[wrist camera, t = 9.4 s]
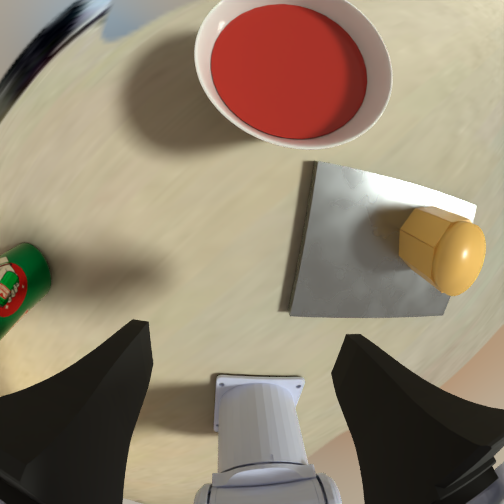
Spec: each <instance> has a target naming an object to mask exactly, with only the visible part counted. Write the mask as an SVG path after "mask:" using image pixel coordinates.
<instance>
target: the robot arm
mask: <svg viewBox="0 0 504 504" xmlns="http://www.w3.org/2000/svg"><path fill="white" fill-rule="evenodd" d="M152 367H153V358H152V350H151V341H150V331H149V322H147V321H140V320H134V319H132V320H131V321H130V322H129V323H127V324H126V325H125V326H124V327H122V328H121V329H120V330H119V331H117V332H116V333H115V334H114V335H112V336H111V337H110V338H109V339H107V340H106V341H105V342H104V343H102V344H101V345H100V346H98V347H97V348H96V349H94V350H93V351H92V352H90V353H89V354H87V355H86V356H84V357H83V358H82V359H80V360H79V361H77V362H76V363H74V364H73V365H71V366H70V367H68V368H66V369H65V370H63V371H61V372H60V373H58V374H56V375H54V376H52V377H50V378H48V379H46V380H44V381H42V382H40V383H37V384H35V385H33V386H31V387H28V388H26V389H23V390H21V391H18V392H15V393H12V394H9V395H5V396H2V397H0V504H122V500H123V488H124V478H125V470H126V463H127V457H128V451H129V446H130V441H131V437H132V434H133V431H134V428H135V424H136V421H137V419H138V416H139V413H140V410H141V407H142V404H143V401H144V398H145V395H146V392H147V389H148V386H149V382H150V377H151V372H152ZM331 374H332V379H333V384H334V388H335V392H336V396H337V399H338V401H339V404H340V407H341V409H342V412H343V414H344V417H345V420H346V422H347V425H348V427H349V430H350V433H351V435H352V438H353V441H354V444H355V447H356V451H357V456H358V460H359V465H360V470H361V477H362V483H363V490H364V500H365V504H504V462H503V463H502V464H501V465H500V466H498V467H497V468H496V469H495V470H494V469H493V467H492V466H493V465H494V464H495V463H496V460H495V458H494V455H495V454H496V453H497V452H498V451H499V450H500V449H501V448H502V447H503V446H504V410H503V409H497V408H491V407H487V406H483V405H479V404H476V403H473V402H470V401H467V400H464V399H462V398H459V397H457V396H455V395H452V394H450V393H448V392H446V391H444V390H442V389H440V388H438V387H436V386H435V385H433V384H431V383H429V382H427V381H426V380H424V379H422V378H421V377H419V376H418V375H416V374H415V373H413V372H412V371H410V370H409V369H407V368H406V367H405V366H403V365H402V364H400V363H399V362H398V361H396V360H395V359H394V358H392V357H391V356H390V355H388V354H387V353H386V352H384V351H383V350H382V349H380V348H379V347H378V346H376V345H375V344H374V343H372V342H371V341H370V340H368V339H367V338H365V337H364V336H362V335H361V334H346V336H345V339H344V342H343V344H342V347H341V350H340V352H339V355H338V357H337V360H336V363H335V365H334V368H333V370H332V372H331ZM221 383H223V384H221ZM304 384H305V380H304V378H303V377H253V376H233V375H218V376H217V378H216V393H215V412H214V431H215V432H218V473H213V474H212V483H207V484H204V485H203V486H202V488H200V489H199V490H198V491H197V493H196V495H195V499H194V504H342V500H341V497H340V493H339V490H338V488H337V485H336V483H335V482H334V480H333V479H332V478H331V477H329V476H327V475H326V474H325V473H317V474H316V473H315V469H314V465H313V464H308V461H307V456H306V452H305V448H304V443H303V439H302V434H301V430H300V426H299V422H298V417H297V413H296V409H295V408H296V405H297V402H298V400H299V397H300V395H301V392H302V389H303V386H304ZM297 385H298V386H297Z"/></svg>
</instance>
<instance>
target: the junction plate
mask: <svg viewBox="0 0 504 504" xmlns="http://www.w3.org/2000/svg"><path fill="white" fill-rule="evenodd" d="M430 206H435V207H438V208H441V209H444V210H446V211H449V212H452V213H454V214H457V215H460V216H462V217H465V218H468V219H470V220H471V222H472V224H473V220H474V216H475V211H476V205H474V204H471V203H469V202H466V201H463V200H461V199H458V198H455V197H452V196H449V195H446V194H443V193H440V192H437V191H434V190H431V189H428V188H425V187H422V186H419V185H415V184H412V183H408V182H405V181H401V180H398V179H394V178H390V177H387V176H383V175H379V174H375V173H371V172H367V171H363V170H358V169H354V168H349V167H345V166H340V165H335V164H330V163H325V162H320V161H314V168H313V175H312V182H311V188H310V195H309V201H308V207H307V213H306V219H305V225H304V231H303V236H302V242H301V248H300V253H299V258H298V264H297V269H296V274H295V279H294V284H293V289H292V294H291V299H290V303H289V308H288V312H289V315H290V316H298V317H331V318H390V317H421V316H440V315H443V314H444V311H445V309H446V306H447V304H448V301H449V299H450V296H449V295H447V294H445V293H441V292H440V291H439V290H437V289H436V288H435V287H434V286H432V285H431V284H430V283H429V282H427V281H426V280H425V279H423V278H422V277H421V276H419V275H418V274H417V273H415V272H414V271H413V270H411V268H410V267H409V266H408V265H407V264H406V263H405V262H404V261H403V260H402V259H401V258H400V257H399V235H400V228H401V227H402V225H403V224H404V223H405V221H406V220H407V219H408V217H409V216H410V214H411V213H412V212H413V210H414V209H415V208H420V207H430Z"/></svg>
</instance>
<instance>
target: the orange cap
mask: <svg viewBox="0 0 504 504" xmlns="http://www.w3.org/2000/svg"><path fill="white" fill-rule="evenodd" d="M485 252H486V242H485V237H484V234H483V232H482V230H481V229H480V227H478V226H477V225H475V224H472V222H471V220H470V219H468V218H465V217H462V216H460V215H457V214H454V213H452V212H449V211H446V210H444V209H441V208H438V207H435V206H430V207H420V208H415V209H414V210H413V212H412V213H411V214H410V216H409V217H408V219H407V220H406V221H405V223H404V224H403V225H402V227H401V228H400V235H399V257H400V258H401V259H402V260H403V261H404V262H405V263H406V264H407V265H408V266H409V267H410V268H411V270H413V271H414V272H415V273H417V274H418V275H419V276H421V277H422V278H423V279H425V280H426V281H427V282H429V283H430V284H431V285H432V286H434V287H435V288H436V289H437V290H439V291H440V292H441V293H445V294H447V295H449V296H456V295H459V294H461V293H463V292H465V291H466V290H467V289H468V288H469V287H470V286H471V285H472V284H473V283H474V281H475V280H476V278H477V277H478V275H479V273H480V270H481V268H482V265H483V262H484V258H485Z"/></svg>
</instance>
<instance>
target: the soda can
mask: <svg viewBox="0 0 504 504" xmlns="http://www.w3.org/2000/svg"><path fill="white" fill-rule="evenodd" d="M50 285H51V274H50V268H49V265H48V263H47V260H46V258H45V257H44V255H43V254H42V253H41V252H40V251H39V250H38V249H37V248H36V247H34V246H33V245H31V244H28V243H21V244H19V245H17V246H15V247H14V248H12V249H10V250H8V251H7V252H5V253H3V254H2V255H0V340H1V339H2V338H3V337H4V336H5V335H6V334H7V333H8V332H9V331H10V330H11V328H12V327H13V326H14V325H15V324H16V323H17V322H18V321H19V320H20V319H21V318H22V317H23V316H24V315H25V314H26V313H27V312H28V311H29V310H30V309H31V308H33V307H34V306H35V305H36V304H37V303H38V302H39V301H40V300H41V299H42V298H43V297H44V296H45V295H46V294H47V293H48V292H49V289H50Z"/></svg>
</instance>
